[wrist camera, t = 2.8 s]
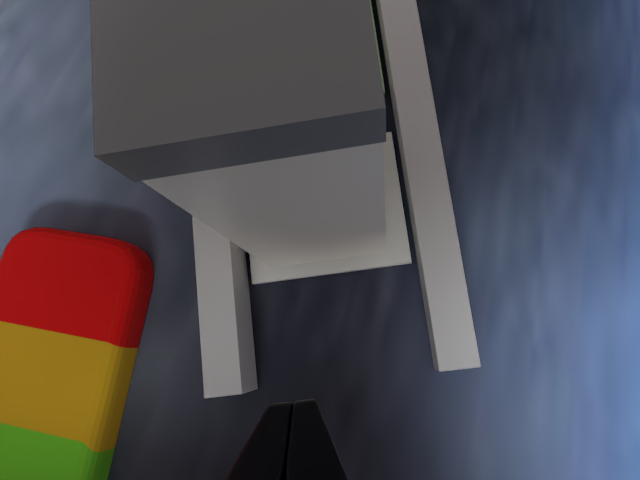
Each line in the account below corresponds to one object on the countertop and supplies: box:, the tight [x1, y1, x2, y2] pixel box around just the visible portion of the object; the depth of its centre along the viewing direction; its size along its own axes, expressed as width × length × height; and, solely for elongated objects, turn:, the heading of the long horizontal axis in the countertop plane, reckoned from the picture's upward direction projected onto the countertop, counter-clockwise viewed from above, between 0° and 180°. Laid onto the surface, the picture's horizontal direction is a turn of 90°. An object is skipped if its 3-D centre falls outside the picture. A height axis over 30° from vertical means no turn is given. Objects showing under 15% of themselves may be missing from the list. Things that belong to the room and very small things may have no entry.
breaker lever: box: [90, 0, 387, 268], centre depth 13 cm, size 4×4×11 cm
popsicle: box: [0, 227, 154, 480], centre depth 18 cm, size 6×15×2 cm, turn 170°
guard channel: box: [192, 0, 481, 398], centre depth 19 cm, size 16×8×2 cm, turn 7°
